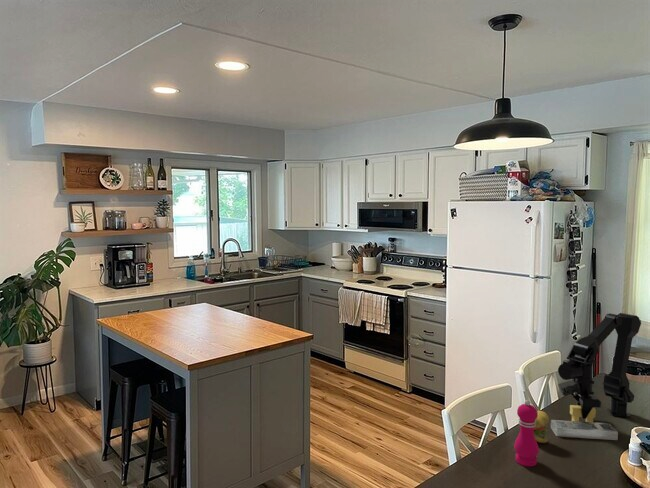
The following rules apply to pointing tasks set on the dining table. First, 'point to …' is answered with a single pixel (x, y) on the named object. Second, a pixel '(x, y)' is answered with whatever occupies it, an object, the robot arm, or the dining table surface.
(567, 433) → the grey compartment tray
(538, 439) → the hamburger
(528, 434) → the pepper mill
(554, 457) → the dining table surface
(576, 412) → the pale yellow block
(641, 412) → the dining table surface
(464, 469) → the dining table surface
